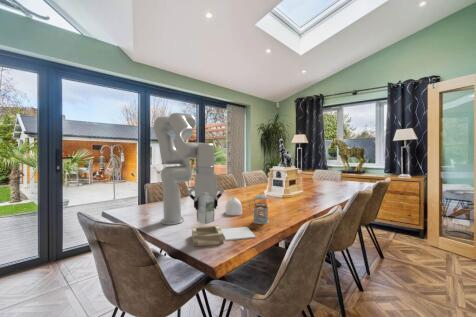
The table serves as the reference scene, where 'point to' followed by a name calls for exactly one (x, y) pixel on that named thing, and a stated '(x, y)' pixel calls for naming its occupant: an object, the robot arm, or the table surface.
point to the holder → (207, 235)
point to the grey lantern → (260, 210)
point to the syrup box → (205, 208)
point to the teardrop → (233, 207)
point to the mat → (237, 233)
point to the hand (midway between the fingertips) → (205, 208)
